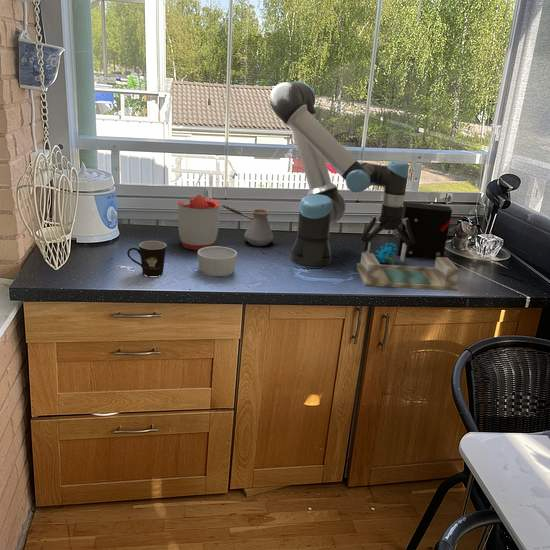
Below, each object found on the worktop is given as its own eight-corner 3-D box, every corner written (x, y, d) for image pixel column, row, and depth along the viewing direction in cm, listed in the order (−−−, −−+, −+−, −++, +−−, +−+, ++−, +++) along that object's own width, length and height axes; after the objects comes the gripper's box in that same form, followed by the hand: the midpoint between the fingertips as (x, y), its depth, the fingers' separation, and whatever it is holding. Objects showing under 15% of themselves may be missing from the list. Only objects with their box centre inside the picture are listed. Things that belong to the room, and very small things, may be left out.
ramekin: (189, 273, 189) (190, 254, 187) (208, 262, 201) (209, 243, 198) (225, 281, 185) (226, 261, 183) (242, 269, 197) (243, 250, 194)
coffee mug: (170, 272, 189) (171, 243, 185) (157, 280, 181) (157, 251, 178) (140, 265, 192) (140, 237, 189) (126, 274, 185) (125, 244, 181)
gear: (369, 253, 218) (391, 237, 216) (378, 263, 221) (399, 247, 219) (377, 267, 209) (399, 250, 206) (386, 277, 211) (408, 261, 209)
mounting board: (364, 285, 191) (367, 265, 188) (356, 268, 206) (358, 249, 203) (457, 290, 193) (461, 270, 191) (442, 273, 208) (445, 254, 206)
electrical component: (438, 253, 231) (448, 205, 223) (443, 261, 221) (453, 211, 214) (395, 248, 232) (403, 200, 225) (398, 256, 222) (406, 207, 215)
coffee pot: (270, 238, 232) (273, 202, 226) (274, 247, 221) (277, 210, 216) (218, 237, 228) (219, 201, 222) (220, 246, 217) (221, 208, 212)
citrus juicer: (193, 236, 227) (194, 186, 220) (226, 246, 218) (229, 195, 211) (165, 244, 215) (165, 192, 208) (199, 255, 206) (200, 202, 199)
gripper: (360, 205, 202) (353, 261, 209) (429, 209, 203) (419, 264, 211) (357, 200, 209) (349, 254, 216) (423, 204, 210) (414, 258, 218)
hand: (384, 259), depth 214 cm, fingers open, 13 cm apart
